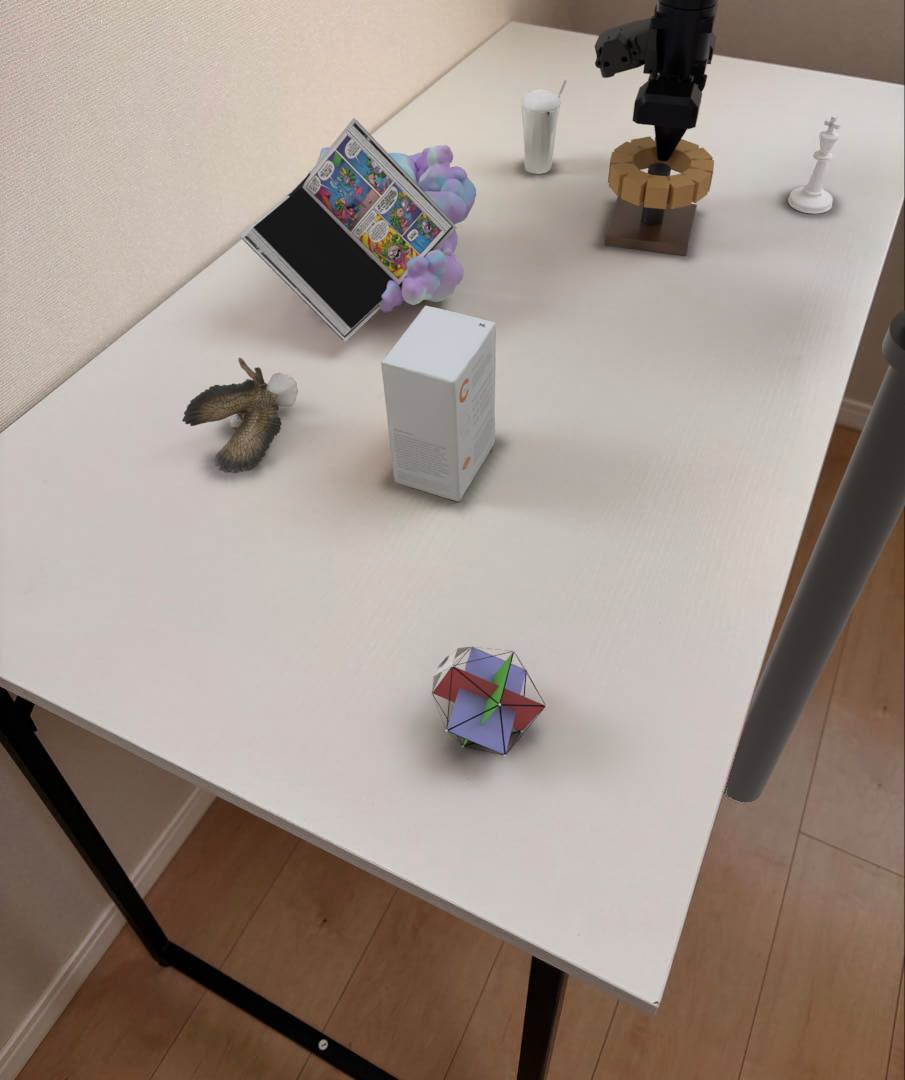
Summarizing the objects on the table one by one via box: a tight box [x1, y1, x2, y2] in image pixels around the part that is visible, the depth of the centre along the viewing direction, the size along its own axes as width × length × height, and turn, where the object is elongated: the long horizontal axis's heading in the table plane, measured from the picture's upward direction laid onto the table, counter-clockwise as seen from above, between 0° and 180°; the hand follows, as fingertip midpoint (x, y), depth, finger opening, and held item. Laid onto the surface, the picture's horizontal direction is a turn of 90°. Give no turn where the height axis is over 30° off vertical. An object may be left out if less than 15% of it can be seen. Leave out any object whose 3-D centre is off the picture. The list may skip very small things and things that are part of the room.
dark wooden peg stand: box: [603, 163, 698, 256], centre depth 103 cm, size 9×9×7 cm
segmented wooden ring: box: [607, 135, 715, 209], centre depth 101 cm, size 11×11×2 cm
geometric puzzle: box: [430, 645, 548, 758], centre depth 62 cm, size 7×7×8 cm
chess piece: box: [787, 115, 841, 215], centre depth 105 cm, size 5×5×10 cm
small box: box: [380, 305, 497, 502], centre depth 77 cm, size 8×6×13 cm
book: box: [239, 117, 477, 343], centre depth 94 cm, size 20×22×18 cm
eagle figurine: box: [181, 357, 299, 473], centre depth 82 cm, size 8×7×9 cm
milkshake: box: [520, 79, 567, 175], centre depth 112 cm, size 5×5×10 cm
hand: (664, 154), depth 103 cm, fingers closed on segmented wooden ring, 2 cm apart
